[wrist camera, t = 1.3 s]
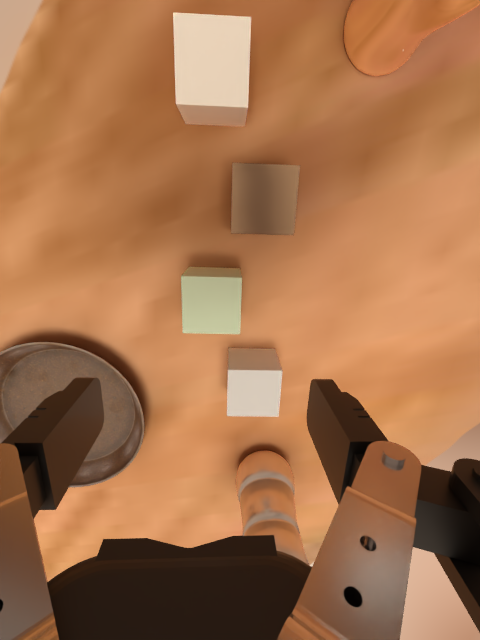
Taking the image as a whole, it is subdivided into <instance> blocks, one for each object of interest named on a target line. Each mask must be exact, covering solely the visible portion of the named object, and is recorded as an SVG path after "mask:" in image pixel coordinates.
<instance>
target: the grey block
mask: <svg viewBox="0 0 480 640" xmlns="http://www.w3.org/2000/svg"><path fill="white" fill-rule="evenodd" d="M281 382H282V368H281V365H280V362H279V359H278V356H277V353H276V350H275V349H271V348H228V387H227V416H268V417H279V405H280V393H281Z"/></svg>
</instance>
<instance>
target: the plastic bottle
mask: <svg viewBox="0 0 480 640" xmlns="http://www.w3.org/2000/svg"><path fill="white" fill-rule="evenodd" d="M236 488H237V495H238V498H239V502H240V507H241V516H242V525H243V536H253V535H274V538H275V544H276V550H277V551H281V552H284V553H287V554H289V555H292V556H294V557H296V558H298V559H300V560H302V561H303V562H305V563H306V564H308V565H309V563H308V560H307V557H306V554H305V552H304V548H303V544H302V540H301V536H300V532H299V528H298V525H297V517H296V509H295V501H294V477H293V473H292V471H291V469H290V466H289V464H288V462H287V461H286V460H285V459H284V458H283V457H282V456H280V455H279V454H277V453H275V452H272V451H267V450H262V451H256V452H253V453H251V454H250V455H248V456H247V457H246V458H245V459H244V460H243V461H242V462H241V463H240V465H239V467H238V471H237V476H236Z"/></svg>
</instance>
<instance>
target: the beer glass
mask: <svg viewBox="0 0 480 640" xmlns="http://www.w3.org/2000/svg"><path fill="white" fill-rule="evenodd" d="M479 5H480V0H353V2H352V4H351V6H350V8H349V10H348V13H347V16H346V20H345V24H344V44H345V49H346V52H347V55H348V57H349V59H350V61H351V62H352V64H353V65H354V66H355V67H356V68H357V69H358V70H360V71H361V72H363V73H365V74H367V75H371V76H383V75H387V74H389V73H392V72H393V71H395V70H397V69H398V68H400V67H401V66H402V65H403V64H404V63H405V62H406V61H407V60H408V59H409V58H410V57H411V55H412V54H413V52H414V51H415V50H416V48H417V47H418V45H419V44H420V42H421V41H422V40H423V39H424V38H425V37H426V36H428V35H429V34H431V33H433V32H434V31H436V30H438V29H440V28H442V27H443V26H445V25H447V24H449V23H451V22H452V21H454V20H456V19H458V18H460V17H461V16H463V15H465V14H467V13H468V12H470V11H471V10H473V9H475V8H476V7H478V6H479Z"/></svg>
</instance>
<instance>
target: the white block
mask: <svg viewBox="0 0 480 640" xmlns="http://www.w3.org/2000/svg"><path fill="white" fill-rule="evenodd" d="M173 25H174V58H175V91H176V105H177V107H178V109H179V111H180V114H181V116H182V118H183V120H184V122H185V124H194V125H217V126H239V127H245V123H246V117H247V111H248V93H249V65H250V36H251V17H242V16H225V15H208V14H191V13H174V12H173Z"/></svg>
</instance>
